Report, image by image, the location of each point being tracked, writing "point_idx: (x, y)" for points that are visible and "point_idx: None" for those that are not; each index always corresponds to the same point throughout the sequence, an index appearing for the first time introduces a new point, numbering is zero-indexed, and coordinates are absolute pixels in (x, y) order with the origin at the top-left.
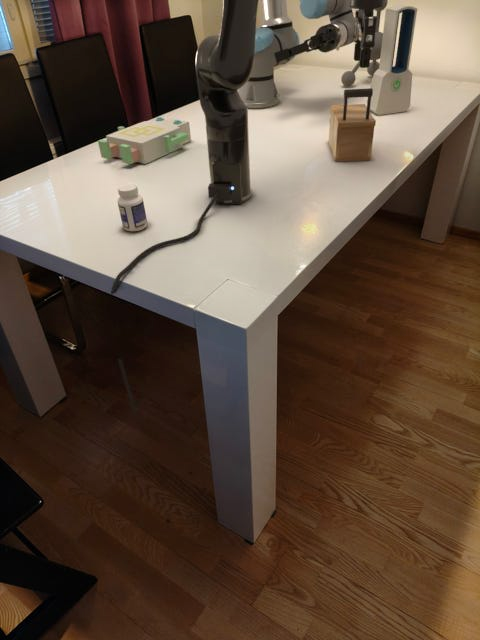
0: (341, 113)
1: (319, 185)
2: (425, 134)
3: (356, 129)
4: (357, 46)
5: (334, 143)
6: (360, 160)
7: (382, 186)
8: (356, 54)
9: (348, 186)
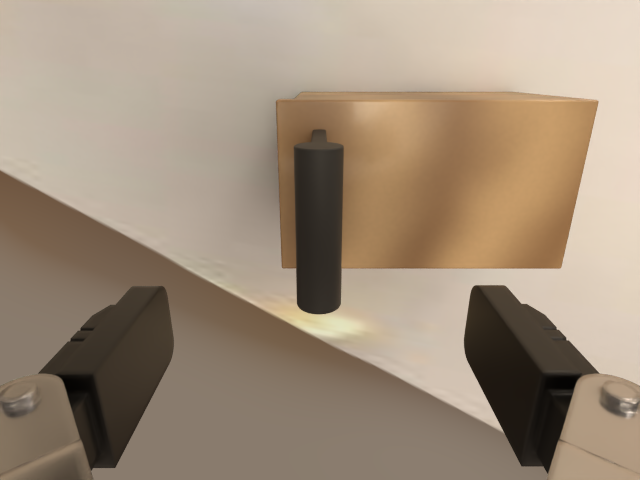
0: (430, 137)
1: (71, 4)
2: None
3: None
4: (525, 377)
5: (350, 94)
6: None
7: (86, 211)
8: (489, 325)
9: (74, 108)
